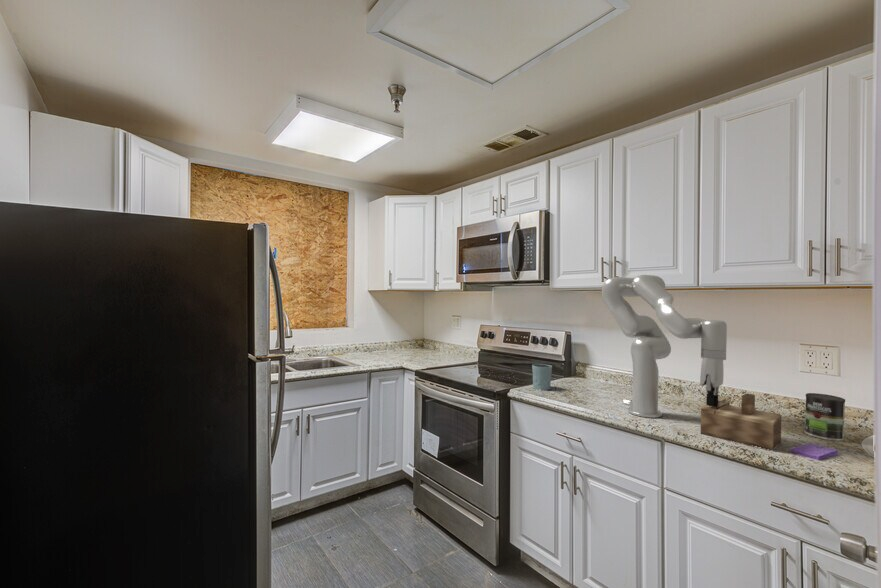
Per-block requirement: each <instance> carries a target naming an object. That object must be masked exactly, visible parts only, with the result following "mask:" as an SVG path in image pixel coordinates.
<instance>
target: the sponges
mask: <svg viewBox="0 0 881 588" xmlns="http://www.w3.org/2000/svg"><path fill="white" fill-rule="evenodd" d="M838 451H839V450H838V449H836V448H833V447H826V446H823V445H818V444H816V443H813V442H809V443H805V444H802V445H799V446H794V447H790V452H791V453H792V454H795V455H799V456H803V457H806V458H809V459H813V460H817V461H820V460H823V459H827V458H830V457H833V456H837V455H838V454H839V452H838Z"/></svg>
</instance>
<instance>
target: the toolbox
mask: <svg viewBox="0 0 881 588" xmlns="http://www.w3.org/2000/svg"><path fill="white" fill-rule="evenodd" d="M725 405H731V403H730V401H726V404H724V405H722V406H721V407H723V406H725ZM718 409H719V408H713V407H709V405H705V406H703V407H701V408H700V435H705V436H709V437H712V438H717V439H721V440H725V441H729V442H733V441H734V442H733V443H737V442H738V443H737V444H741V443H743V445H746V444H747V445H746V446H750V445H753V446H752V447H754V446H757V447H756V448H758V447H761V448H760V449H762V448H765V449H764V450H767V449H769V450H768V451H771V450H773V449H774V448H775V447H776V448H777V446H779V444H780V443H781V441H782V418H781V419H780V420H779V421H777V422H776V423H775V424H774V425H773V426H772V425H767V424H762V423H757V422H752V421H747V420H742V419H737V418H732V417H727V416H722V415H717V414H715V411H717V410H718ZM776 448H775V449H776ZM775 449H774V450H775ZM774 450H773V451H774Z"/></svg>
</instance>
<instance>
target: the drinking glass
mask: <svg viewBox="0 0 881 588" xmlns="http://www.w3.org/2000/svg"><path fill="white" fill-rule="evenodd" d="M531 368H532V369H531V370H532V387H534V388H536V389H541V390H540V391H549V389H550V390H551V381H552V371H553V365H550V364H544V363H534V364H532V365H531ZM534 388H533V389H534ZM536 389H535V390H536Z"/></svg>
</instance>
